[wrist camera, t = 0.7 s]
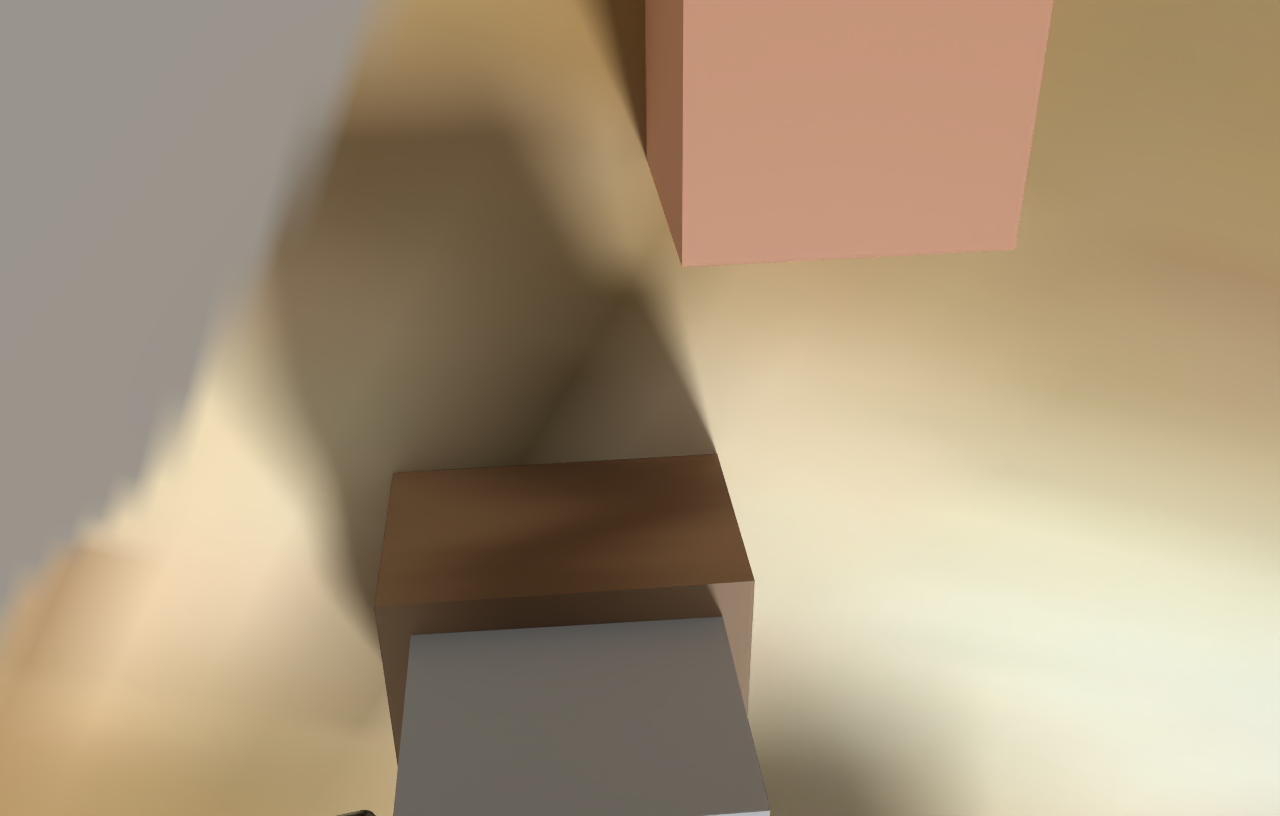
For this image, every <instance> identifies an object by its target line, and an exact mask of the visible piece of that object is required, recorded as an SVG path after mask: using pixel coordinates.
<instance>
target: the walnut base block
mask: <svg viewBox="0 0 1280 816" xmlns="http://www.w3.org/2000/svg"><path fill="white" fill-rule="evenodd" d="M754 582H755V581H754V577H753V574H752V571H751V567H750V564H749V560H748V557H747V554H746V550H745V547H744V543H743V540H742V537H741V533H740V530H739V527H738V523H737V520H736V516H735V513H734V510H733V506H732V503H731V499H730V496H729V493H728V489H727V486H726V482H725V479H724V476H723V472H722V469H721V466H720V462H719V459H718V455H717V454H707V455H690V456H673V457H656V458H639V459H621V460H604V461H587V462H570V463H553V464H536V465H519V466H501V467H484V468H467V469H450V470H433V471H416V472H398V473H393V478H392V485H391V492H390V499H389V506H388V513H387V520H386V527H385V535H384V542H383V549H382V556H381V563H380V570H379V577H378V584H377V591H376V598H375V605H374V608H375V615H376V622H377V628H378V635H379V642H380V649H381V656H382V662H383V669H384V676H385V683H386V690H387V696H388V703H389V710H390V717H391V724H392V730H393V737H394V744H395V751H396V758H397V764H398V762H399V751H400V741H401V731H402V721H403V710H404V700H405V690H406V680H407V669H408V659H409V649H410V638H411V635H422V634H439V633H456V632H473V631H489V630H506V629H523V628H540V627H556V626H573V625H590V624H607V623H624V622H640V621H657V620H674V619H691V618H708V617H723V620H724V624H725V628H726V632H727V636H728V640H729V645H730V649H731V653H732V657H733V661H734V665H735V669H736V673H737V677H738V681H739V685H740V689H741V693H742V697H743V702H744V706H745V710H746V714H747V712H748V694H749V675H750V657H751V638H752V620H753V601H754Z"/></svg>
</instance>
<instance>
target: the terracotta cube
mask: <svg viewBox="0 0 1280 816" xmlns="http://www.w3.org/2000/svg"><path fill="white" fill-rule="evenodd" d="M1053 3H1054V0H645V47H646V143H647V162H648V165H649V168H650V171H651V174H652V177H653V180H654V183H655V186H656V189H657V192H658V195H659V198H660V201H661V204H662V207H663V210H664V214H665V217H666V220H667V223H668V226H669V229H670V232H671V235H672V238H673V241H674V244H675V247H676V250H677V253H678V256H679V259H680V262H681V265H682V267H690V266H709V265H728V264H747V263H767V262H786V261H805V260H824V259H843V258H862V257H882V256H901V255H920V254H939V253H958V252H977V251H997V250H1015V248H1016V242H1017V236H1018V229H1019V223H1020V216H1021V210H1022V203H1023V197H1024V190H1025V184H1026V177H1027V171H1028V164H1029V158H1030V151H1031V145H1032V138H1033V132H1034V126H1035V119H1036V113H1037V106H1038V100H1039V93H1040V87H1041V80H1042V74H1043V67H1044V61H1045V54H1046V48H1047V41H1048V35H1049V28H1050V22H1051V16H1052V9H1053Z"/></svg>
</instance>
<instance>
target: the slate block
mask: <svg viewBox="0 0 1280 816" xmlns="http://www.w3.org/2000/svg"><path fill="white" fill-rule="evenodd" d="M393 816H770V807H769V803H768V799H767V795H766V791H765V787H764V783H763V779H762V775H761V771H760V767H759V763H758V758H757V754H756V750H755V746H754V742H753V738H752V734H751V730H750V726H749V722H748V718H747V714H746V710H745V706H744V702H743V697H742V693H741V689H740V685H739V681H738V677H737V673H736V669H735V665H734V661H733V657H732V653H731V649H730V645H729V640H728V636H727V632H726V628H725V624H724V620H723V617H708V618H691V619H674V620H657V621H640V622H624V623H607V624H590V625H573V626H556V627H540V628H523V629H506V630H489V631H473V632H456V633H439V634H422V635H411V638H410V649H409V659H408V669H407V680H406V690H405V700H404V710H403V721H402V731H401V741H400V751H399V762H398V772H397V782H396V793H395V803H394V813H393Z"/></svg>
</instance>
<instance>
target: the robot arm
mask: <svg viewBox="0 0 1280 816" xmlns="http://www.w3.org/2000/svg"><path fill="white" fill-rule="evenodd" d="M337 816H375V815H374V814H373V812H371V811H369V810H360V811H356V812H351V813H346V814H342V815H337Z"/></svg>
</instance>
